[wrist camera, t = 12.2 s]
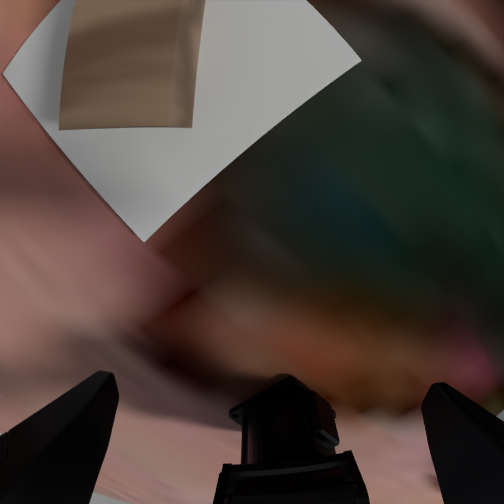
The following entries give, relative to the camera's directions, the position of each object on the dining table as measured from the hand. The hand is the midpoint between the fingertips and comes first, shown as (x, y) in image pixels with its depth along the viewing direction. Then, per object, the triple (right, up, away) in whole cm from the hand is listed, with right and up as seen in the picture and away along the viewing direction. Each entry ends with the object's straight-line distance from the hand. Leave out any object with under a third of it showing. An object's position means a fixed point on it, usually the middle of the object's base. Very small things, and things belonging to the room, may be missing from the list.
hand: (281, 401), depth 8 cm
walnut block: (-6, +10, +6) cm, 13 cm away
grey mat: (-6, +15, +7) cm, 18 cm away
